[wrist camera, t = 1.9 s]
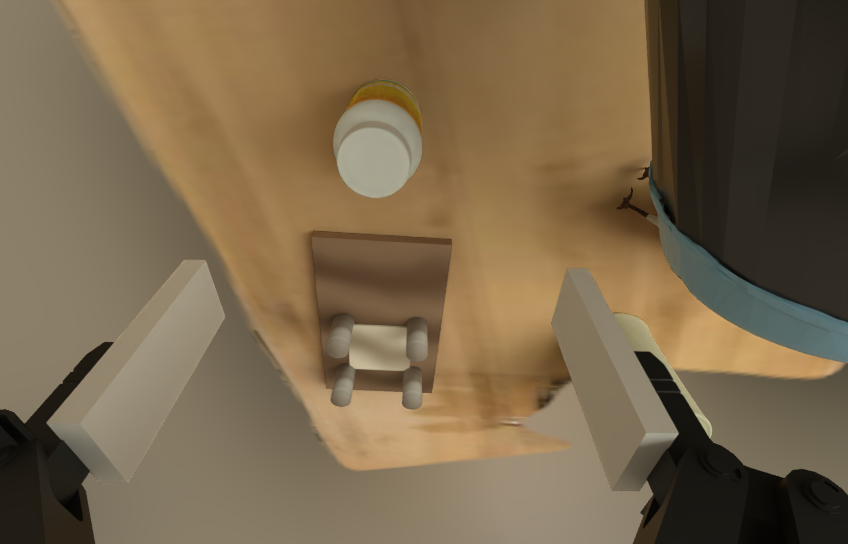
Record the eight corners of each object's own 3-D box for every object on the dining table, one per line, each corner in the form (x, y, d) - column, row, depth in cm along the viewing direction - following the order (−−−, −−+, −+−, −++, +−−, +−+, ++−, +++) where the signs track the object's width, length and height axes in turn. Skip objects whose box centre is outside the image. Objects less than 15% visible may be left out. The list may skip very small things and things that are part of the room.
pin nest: (313, 230, 35) (299, 263, 31) (451, 239, 36) (455, 272, 32) (327, 381, 47) (319, 419, 43) (431, 385, 48) (432, 424, 44)
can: (641, 368, 46) (701, 472, 36) (559, 376, 47) (595, 481, 37) (656, 307, 41) (731, 410, 31) (563, 317, 42) (607, 421, 32)
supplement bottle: (420, 155, 32) (420, 213, 24) (350, 151, 31) (327, 208, 23) (424, 79, 28) (426, 117, 21) (346, 74, 28) (318, 111, 20)
